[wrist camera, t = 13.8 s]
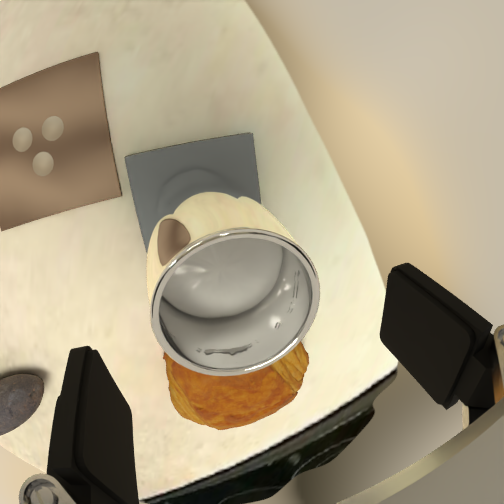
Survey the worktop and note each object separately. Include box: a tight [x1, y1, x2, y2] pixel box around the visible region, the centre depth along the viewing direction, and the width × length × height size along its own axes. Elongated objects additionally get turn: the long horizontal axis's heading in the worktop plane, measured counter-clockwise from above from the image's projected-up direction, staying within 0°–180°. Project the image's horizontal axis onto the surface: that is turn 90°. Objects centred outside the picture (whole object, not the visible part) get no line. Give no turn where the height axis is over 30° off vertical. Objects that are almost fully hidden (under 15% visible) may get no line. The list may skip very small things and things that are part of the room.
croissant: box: [163, 341, 309, 430], centre depth 31 cm, size 14×16×8 cm
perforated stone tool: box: [0, 374, 44, 435], centre depth 24 cm, size 15×5×7 cm, turn 110°
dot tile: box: [0, 52, 122, 231], centre depth 20 cm, size 12×12×1 cm
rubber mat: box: [125, 133, 261, 253], centre depth 25 cm, size 10×10×1 cm
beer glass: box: [146, 169, 320, 376], centre depth 18 cm, size 7×7×15 cm
